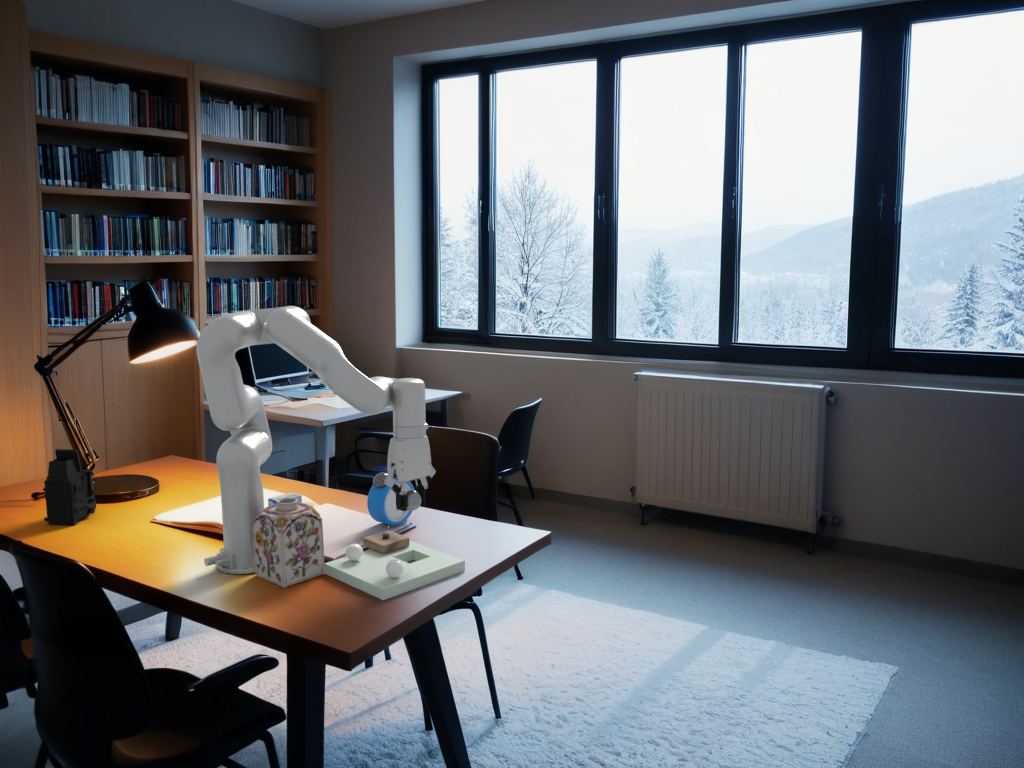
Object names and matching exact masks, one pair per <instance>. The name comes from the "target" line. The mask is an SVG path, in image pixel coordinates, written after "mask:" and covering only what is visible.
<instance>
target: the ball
mask: <svg viewBox="0 0 1024 768" xmlns="http://www.w3.org/2000/svg"><path fill="white" fill-rule="evenodd" d="M404 494H406V495H407V510H408V511H412V512H414V511H416V510H418V509H419V508H420V507H421V502H422V498H421V495H420V493H419V492H417V491H416V490H415V489H414V490H412V489H410V490H407V491H405V493H404Z"/></svg>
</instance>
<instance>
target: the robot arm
mask: <svg viewBox="0 0 1024 768" xmlns="http://www.w3.org/2000/svg"><path fill="white" fill-rule="evenodd" d="M270 344H275V345H277V346H278V347H279V348H281V349H282V350H284V351H285V352H286V353H288V354H289V355H291V356H292V357H294V358H295V359H296V360H298V361H299V363H301V364H303V365H304V366H305V367H307V368H308V369H310V370H311V371H312V372H314V373H315V375H316V376H317V377H318V379H320V380H321V381H322V382H323V383H324V384H325V385H326V387H328V389H330V390H331V391H332V392H333V393H334V394H335V395H336V396H338V397H339V398H340V399H342V401H344V402H346V403H347V404H349V406H351V407H352V408H354V409H356V410H357V411H358V412H360V413H362V414H365V415H368V416H369V415H370V416H375V415H378V414H380V413H382V412H383V411H384V410H385V409H386V408H388V407H392V427H393V428H392V429H393V430H392V431H393V437H392V438H390V440H389V445H388V451H387V465H386V473H387V477H386V479H385V481H384V484H385V485H387V486H388V487H390V488H391V489H392V490H393V492H394V493H396V508H397V509H398V510H401V511H406V510H407V495H406V494H404V493H405V488H406V483H407V482H408V481H410V482H411V481H415V484H416V487H414V490H416V491H417V492H419V493H420V495H421V498H422V502H421V505H420V507H421V506H422V507H426V505H427V504H426V503H427V501H426V500H427V498H426V491H427V489H428V488H429V483H430V482H431V480H432V478H433V476H434V475H435V474H436V472H437V471H436V469H435V467H433V465H432V456H431V448H430V441H429V436H427V430H428V429H429V424H428V423H427V421H426V419H427V417H426V384H425V381H424V380H422V379H420V378H418V377H417V378H415V377H405V378H404V377H403V378H395V377H386V376H382V375H381V376H377V375H376V376H372V377H370V378H369V377H368V376H366V374H364V373H362V372H361V371H360V370H359V369H357V368H356V367H355V366H354V365H353V364H352V363H351V362H350V361H349V360H348V359H347V357H346V355H345V354H344V352H343V349H342V347H341V346H340V344H339V343H338V342H337V341H336V340H334V339H333V338H331V336H329V335H327V333H325V332H323V331H322V330H321V329H320V328H318V327H317V326H316V325H314V324H312V322H311V319H310V316H309V314H308V313H307V311H306V310H304V309H303V308H301V307H298V306H295V305H287V306H279V307H271V308H259V309H248V310H247V309H246V310H240V311H236V312H230V313H226V314H223V315H222V314H221V316H220V315H219V316H218V317H216V318H215V319H213V320H212V321H210V322H209V323H208V324H207V325H206V326H205V327H203V329H202V331H201V332H200V334H199V335H198V338H197V342H196V357H197V361H198V365H199V370H200V373H201V377H202V382H203V386H204V390H205V396H206V399H207V405H208V409H209V414H210V418H211V420H212V423H213V424H214V425H215V426H216V427H217V428H218V429H220V430H221V431H227V432H229V433H230V437H228V438H227V439H226V440H225V441H223V443H222V444H221V445H220V447H219V449H217V454H216V458H215V460H216V461H215V462H216V469H217V474H218V479H219V487H220V498H221V499H220V500H221V501H220V502H221V515H222V516H221V518H222V534H223V535H222V536H223V548H219V552H218V553H217V554H216V555H214V556H213V555H212V556H209V557H205V558H204V559H203V561H204V562H203V563H204V565H205V566H206V567H209V566H212V565H215V567H217V568H218V570H219V571H220V572H222V573H225V574H230V575H245V574H246V575H247V574H253V573H255V565H254V543H253V520H254V519H255V518H256V517H257V516H258V514H259V513H260V512H261V511H263V510H264V509H265V498H264V486H263V485H264V484H263V480H262V479H263V478H262V476H261V469H260V468H261V466H262V465H263V464H264V463H265V462H266V461H267V460H268V459H269V458H270V456H271V454H272V452H273V439H272V434H271V430H270V427H269V422H268V418H267V414H266V413H267V412H266V409H265V404H264V401H263V398H262V396H261V395H260V393H259V392H258V391H257V390H256V389H255V388H254V387H252V386H250V385H247V384H244V381H243V377H242V373H241V368H240V366H239V363H238V361H237V358H236V353H237V352H238V351H239V350H241V349H245V348H248V347H251V346H258V345H270ZM394 479H395V483H394V482H393V480H394ZM400 483H401V486H400ZM399 486H400V487H399Z"/></svg>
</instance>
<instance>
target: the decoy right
mask: <svg viewBox="0 0 1024 768" xmlns="http://www.w3.org/2000/svg"><path fill="white" fill-rule="evenodd" d="M403 571H404V566H403V564H402V563H401V562H400V561H399V560H391V561H389V562H388V563H387V565H386V573H387V575H388V576H389V577H391V578H398V577H400V576H401V575H402V573H403Z"/></svg>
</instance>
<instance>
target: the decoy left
mask: <svg viewBox="0 0 1024 768" xmlns="http://www.w3.org/2000/svg"><path fill="white" fill-rule="evenodd" d="M363 551H364V550H363V547H362V546H361V545H360V544H358V543H352V544H351V543H350V544H349V545H348V546H347V547H346V549H345V557H347V558H348V559H349V560H351V561H357V560H359V559H360V558H361V557H362V555H363Z"/></svg>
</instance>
